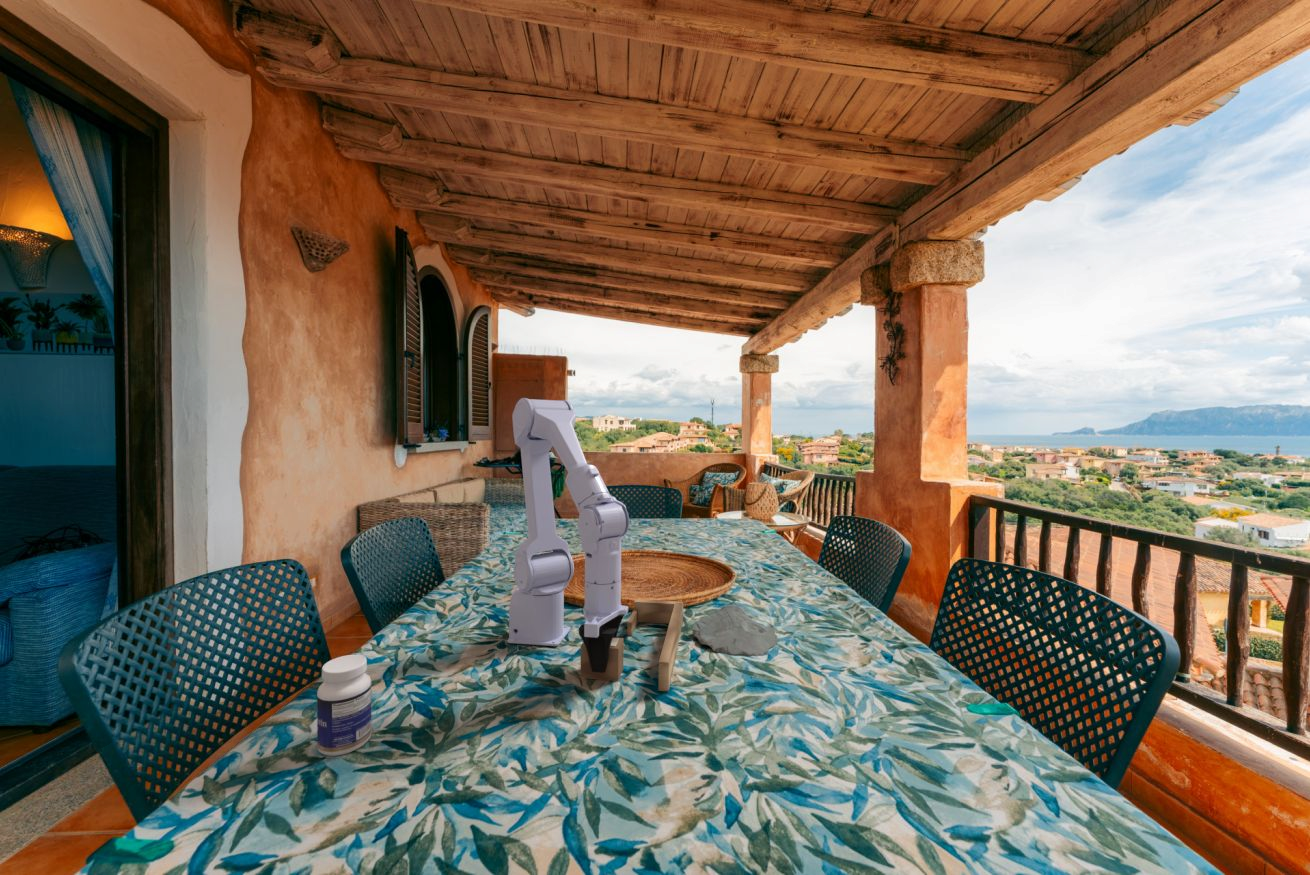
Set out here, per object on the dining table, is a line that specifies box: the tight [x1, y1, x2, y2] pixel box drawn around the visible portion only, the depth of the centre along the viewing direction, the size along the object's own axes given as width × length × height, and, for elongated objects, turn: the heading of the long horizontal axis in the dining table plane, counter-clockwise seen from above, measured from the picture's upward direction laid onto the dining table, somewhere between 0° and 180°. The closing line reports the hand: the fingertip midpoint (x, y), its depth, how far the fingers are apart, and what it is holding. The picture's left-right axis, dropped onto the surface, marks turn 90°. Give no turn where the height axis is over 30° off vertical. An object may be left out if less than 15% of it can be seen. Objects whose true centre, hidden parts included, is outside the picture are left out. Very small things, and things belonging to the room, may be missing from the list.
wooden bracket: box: [626, 598, 684, 692], centre depth 89 cm, size 10×28×4 cm, turn 172°
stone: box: [691, 604, 778, 657], centre depth 94 cm, size 16×4×15 cm
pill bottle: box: [316, 654, 373, 757], centre depth 62 cm, size 6×6×10 cm
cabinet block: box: [579, 637, 625, 682], centre depth 80 cm, size 6×4×5 cm, turn 82°
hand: (602, 664), depth 80 cm, fingers closed on cabinet block, 4 cm apart
